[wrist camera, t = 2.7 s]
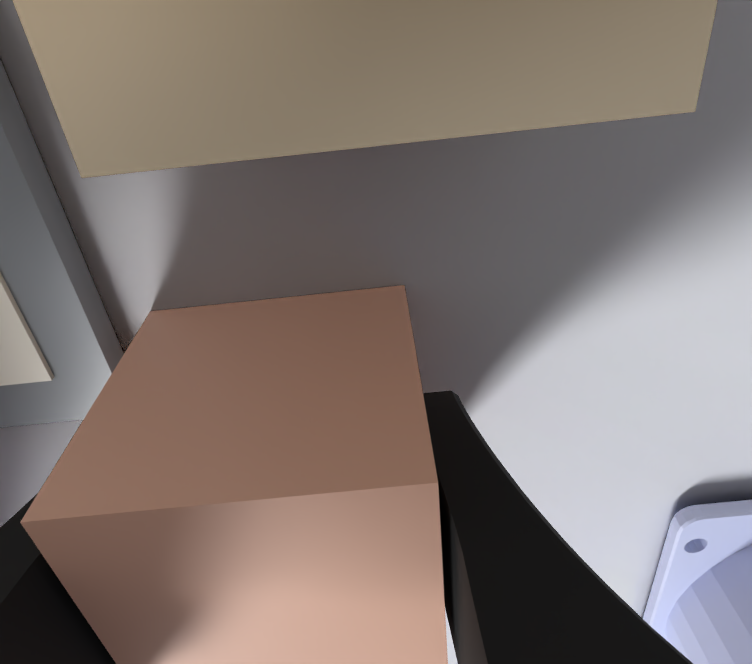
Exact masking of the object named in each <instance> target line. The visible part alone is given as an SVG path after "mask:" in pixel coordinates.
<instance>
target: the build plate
mask: <svg viewBox="0 0 752 664" xmlns="http://www.w3.org/2000/svg"><path fill="white" fill-rule="evenodd" d="M123 355H124V353H123V351H122V348H121V346H120V344H119V341H118V339H117V337H116V334H115V332H114V329H113V327H112V325H111V322H110V320H109V317H108V315H107V313H106V310H105V308H104V306H103V303H102V301H101V298H100V296H99V294H98V291H97V289H96V286H95V284H94V282H93V279H92V277H91V275H90V272H89V270H88V267H87V265H86V263H85V260H84V258H83V255H82V253H81V251H80V248H79V246H78V244H77V241H76V239H75V236H74V234H73V232H72V229H71V227H70V224H69V222H68V220H67V217H66V215H65V213H64V210H63V208H62V205H61V203H60V201H59V198H58V196H57V193H56V191H55V189H54V186H53V184H52V181H51V179H50V177H49V174H48V172H47V170H46V167H45V165H44V162H43V160H42V158H41V155H40V153H39V150H38V148H37V146H36V143H35V141H34V139H33V136H32V134H31V131H30V129H29V127H28V124H27V122H26V119H25V117H24V115H23V112H22V110H21V108H20V105H19V103H18V100H17V98H16V96H15V93H14V91H13V88H12V86H11V84H10V81H9V79H8V77H7V74H6V72H5V69H4V67H3V65H2V62H1V60H0V428H3V427H13V426H24V425H34V424H44V423H54V422H64V421H74V420H84V418H85V416H86V415H87V413H88V412H89V410H90V408H91V407H92V405H93V403H94V402H95V400H96V399H97V397H98V395H99V394H100V392H101V390H102V389H103V387H104V386H105V384H106V382H107V381H108V379H109V377H110V376H111V374H112V373H113V371H114V369H115V368H116V366H117V364H118V363H119V361H120V360H121V358H122V356H123Z"/></svg>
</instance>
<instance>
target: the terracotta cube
mask: <svg viewBox="0 0 752 664" xmlns="http://www.w3.org/2000/svg"><path fill="white" fill-rule="evenodd" d="M20 523H21V524H22V526H23V527H24V529H25V530H26V532H27V533H28V535H29V536H30V537H31V539H32V540H33V542H34V543H35V545H36V546H37V548H38V549H39V551H40V552H41V554H42V555H43V557H44V558H45V560H46V561H47V562H48V564H49V565H50V567H51V568H52V570H53V571H54V573H55V574H56V576H57V577H58V579H59V580H60V582H61V583H62V585H63V586H64V588H65V589H66V590H67V592H68V593H69V595H70V596H71V598H72V599H73V601H74V602H75V604H76V605H77V607H78V608H79V610H80V611H81V613H82V614H83V616H84V617H85V618H86V620H87V621H88V623H89V624H90V626H91V627H92V629H93V630H94V632H95V633H96V635H97V636H98V638H99V639H100V641H101V642H102V644H103V645H104V646H105V648H106V649H107V651H108V652H109V654H110V655H111V657H112V658H113V660H114V661H115V663H116V664H448V660H447V641H446V622H445V602H444V583H443V564H442V545H441V526H440V507H439V488H438V478H437V473H436V467H435V461H434V455H433V449H432V443H431V437H430V432H429V426H428V420H427V414H426V408H425V402H424V396H423V391H422V385H421V379H420V373H419V367H418V361H417V355H416V349H415V344H414V338H413V332H412V326H411V320H410V314H409V308H408V303H407V297H406V291H405V285H400V286H390V287H380V288H370V289H361V290H351V291H341V292H332V293H322V294H312V295H303V296H293V297H283V298H273V299H264V300H254V301H244V302H235V303H225V304H215V305H205V306H196V307H186V308H176V309H167V310H157V311H150V313H149V314H148V316H147V317H146V319H145V321H144V322H143V324H142V326H141V327H140V329H139V330H138V332H137V334H136V335H135V337H134V339H133V340H132V342H131V343H130V345H129V347H128V348H127V350H126V351H125V353H124V355H123V356H122V358H121V360H120V361H119V363H118V364H117V366H116V368H115V369H114V371H113V373H112V374H111V376H110V377H109V379H108V381H107V382H106V384H105V386H104V387H103V389H102V390H101V392H100V394H99V395H98V397H97V399H96V400H95V402H94V403H93V405H92V407H91V408H90V410H89V412H88V413H87V415H86V416H85V418H84V420H83V421H82V423H81V424H80V426H79V428H78V429H77V431H76V433H75V434H74V436H73V437H72V439H71V441H70V442H69V444H68V446H67V447H66V449H65V450H64V452H63V454H62V455H61V457H60V459H59V460H58V462H57V463H56V465H55V467H54V468H53V470H52V472H51V473H50V475H49V476H48V478H47V480H46V481H45V483H44V484H43V486H42V488H41V489H40V491H39V493H38V494H37V496H36V497H35V499H34V501H33V502H32V504H31V506H30V507H29V509H28V510H27V512H26V514H25V515H24V517H23V519H22V520H21V522H20Z"/></svg>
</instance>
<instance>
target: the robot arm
mask: <svg viewBox="0 0 752 664" xmlns="http://www.w3.org/2000/svg"><path fill="white" fill-rule="evenodd" d="M423 396H424V402H425V408H426V414H427V420H428V426H429V432H430V437H431V443H432V449H433V455H434V461H435V467H436V473H437V478H438V488H439V507H440V526H441V545H442V564H443V583H444V602H445V608H446V613H447V617H448V622H449V626H450V630H451V635H452V639H453V644H454V648H455V652H456V657H457V661H458V664H752V500H742V501H731V502H720V503H709V504H699V505H692V506H688V507H686V508H683V509H681V510H680V511H679V512H677V513H676V514H675V515H674V517H673V519H672V521H671V523H670V527H669V530H668V533H667V537H666V540H665V544H664V547H663V551H662V554H661V558H660V561H659V564H658V568H657V571H656V575H655V578H654V582H653V585H652V588H651V592H650V595H649V599H648V602H647V606H646V609H645V612H644V616H643V619H642V618H641V617H640V616H639V615H638V614H637V613H636V612H635V611H634V610H633V609H632V608H631V607H630V606H629V605H628V604H627V603H626V602H625V601H623V600H622V599H621V598H620V597H619V596H618V595H617V594H616V593H615V592H614V591H613V590H612V589H611V588H610V587H609V586H608V585H607V584H606V583H605V582H604V581H603V580H602V579H601V578H600V577H599V576H598V575H597V574H596V573H595V572H594V571H593V570H592V569H591V568H590V567H589V566H588V565H587V564H586V563H585V562H584V561H583V560H582V559H581V557H580V556H579V555H578V554H577V553H576V552H575V551H574V550H573V549H572V548H571V547H570V546H569V545H568V543H567V542H566V541H565V540H564V539H563V538H562V537H561V536H560V535H559V534H558V532H557V531H556V530H555V529H554V528H553V527H552V526H551V524H550V523H549V522H548V521H547V520H546V519H545V517H544V516H543V515H542V514H541V513H540V512H539V510H538V509H537V508H536V507H535V506H534V505H533V503H532V502H531V501H530V500H529V498H528V497H527V496H526V495H525V494H524V492H523V491H522V490H521V489H520V487H519V486H518V485H517V483H516V482H515V481H514V479H513V478H512V477H511V475H510V474H509V473H508V472H507V470H506V469H505V468H504V466H503V465H502V464H501V462H500V461H499V460H498V458H497V457H496V456H495V454H494V453H493V451H492V450H491V449H490V447H489V446H488V444H487V443H486V441H485V440H484V438H483V437H482V435H481V434H480V432H479V431H478V429H477V428H476V426H475V425H474V423H473V422H472V420H471V418H470V417H469V415H468V413H467V412H466V410H465V408H464V406H463V404H462V403H461V401H460V399H459V397H458V395H457V394H455V393H454V392H453V391H443V392H433V393H423ZM36 496H37V495H35V496H34V497H33V498H32V499H31V500H30V501H29V502H28V503H27V504H26V505H25V506H24V507H23V508H21V509H20V510H19V511H18V512H17V513H16V514H15V515H14V516H13V517H12V518H11V519H10V520H9V521H7V522H6V523H5V524H4V525H3V526H2V527H1V528H0V664H116V663H115V661H114V660H113V658H112V657H111V655H110V654H109V652H108V651H107V649H106V648H105V646H104V645H103V644H102V642H101V641H100V639H99V638H98V636H97V635H96V633H95V632H94V630H93V629H92V627H91V626H90V624H89V623H88V621H87V620H86V618H85V617H84V616H83V614H82V613H81V611H80V610H79V608H78V607H77V605H76V604H75V602H74V601H73V599H72V598H71V596H70V595H69V593H68V592H67V590H66V589H65V588H64V586H63V585H62V583H61V582H60V580H59V579H58V577H57V576H56V574H55V573H54V571H53V570H52V568H51V567H50V565H49V564H48V562H47V561H46V560H45V558H44V557H43V555H42V554H41V552H40V551H39V549H38V548H37V546H36V545H35V543H34V542H33V540H32V539H31V537H30V536H29V535H28V533H27V532H26V530H25V529H24V527H23V526H22V524H21V523H20V522H21V520H22V519H23V517H24V515H25V514H26V512H27V510H28V509H29V507H30V506H31V504H32V502H33V501H34V499H35V497H36Z"/></svg>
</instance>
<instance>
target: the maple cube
mask: <svg viewBox="0 0 752 664" xmlns="http://www.w3.org/2000/svg"><path fill="white" fill-rule="evenodd" d="M12 1H13V3H14V6H15V8H16V11H17V13H18V16H19V19H20V21H21V24H22V26H23V29H24V31H25V34H26V37H27V39H28V42H29V44H30V47H31V50H32V52H33V55H34V57H35V60H36V62H37V65H38V68H39V70H40V73H41V75H42V78H43V80H44V83H45V86H46V88H47V91H48V93H49V96H50V98H51V101H52V104H53V106H54V109H55V111H56V114H57V116H58V119H59V122H60V124H61V127H62V129H63V132H64V135H65V137H66V140H67V142H68V145H69V147H70V150H71V153H72V155H73V158H74V160H75V163H76V165H77V168H78V171H79V173H80V176H81V178H87V177H97V176H106V175H115V174H124V173H134V172H143V171H152V170H161V169H171V168H180V167H189V166H199V165H208V164H217V163H226V162H236V161H245V160H254V159H263V158H273V157H282V156H291V155H300V154H310V153H319V152H328V151H337V150H347V149H356V148H365V147H374V146H384V145H393V144H402V143H412V142H421V141H430V140H439V139H449V138H458V137H467V136H476V135H486V134H495V133H504V132H513V131H523V130H532V129H541V128H550V127H560V126H569V125H578V124H587V123H597V122H606V121H615V120H624V119H634V118H643V117H652V116H662V115H671V114H680V113H689V112H695V110H696V105H697V101H698V96H699V91H700V86H701V81H702V76H703V71H704V66H705V61H706V56H707V51H708V46H709V41H710V36H711V31H712V27H713V22H714V17H715V12H716V7H717V2H718V0H12Z"/></svg>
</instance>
